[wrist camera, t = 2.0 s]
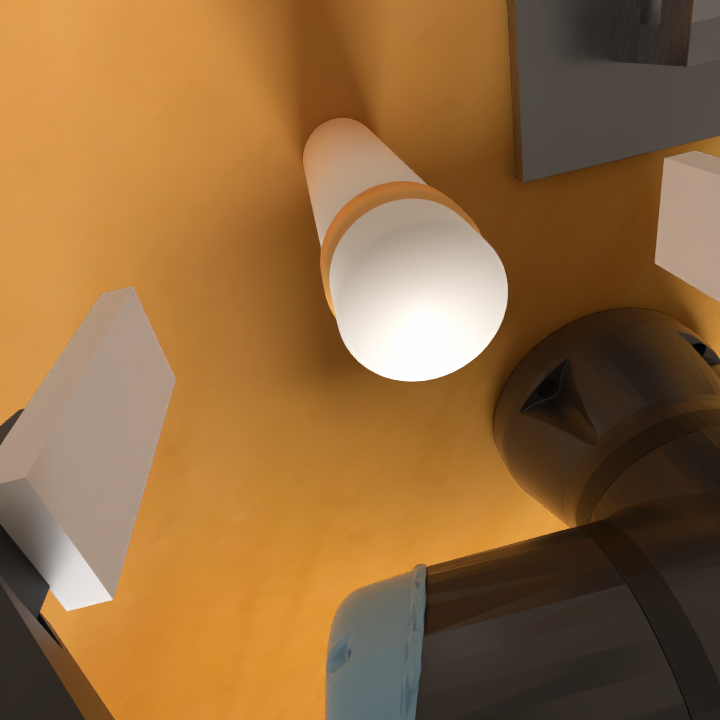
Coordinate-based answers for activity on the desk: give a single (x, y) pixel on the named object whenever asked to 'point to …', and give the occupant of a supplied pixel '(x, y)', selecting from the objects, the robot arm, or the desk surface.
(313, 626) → the desk surface
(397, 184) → the tube
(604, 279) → the desk surface
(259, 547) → the desk surface
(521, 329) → the desk surface
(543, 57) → the collar stand
